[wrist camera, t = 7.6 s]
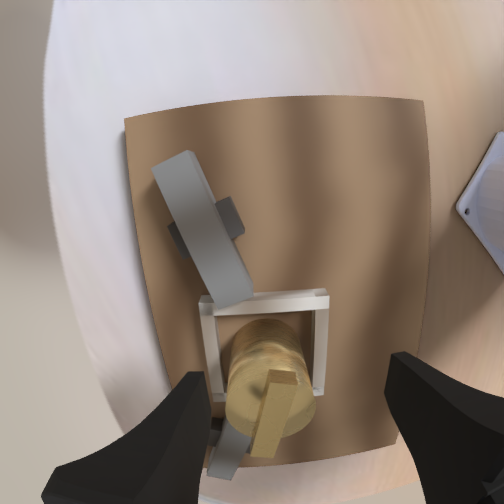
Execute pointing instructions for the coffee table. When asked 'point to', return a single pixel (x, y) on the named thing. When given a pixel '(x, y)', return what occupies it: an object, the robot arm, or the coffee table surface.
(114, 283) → the coffee table surface
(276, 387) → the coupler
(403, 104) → the tan wooden flat board
